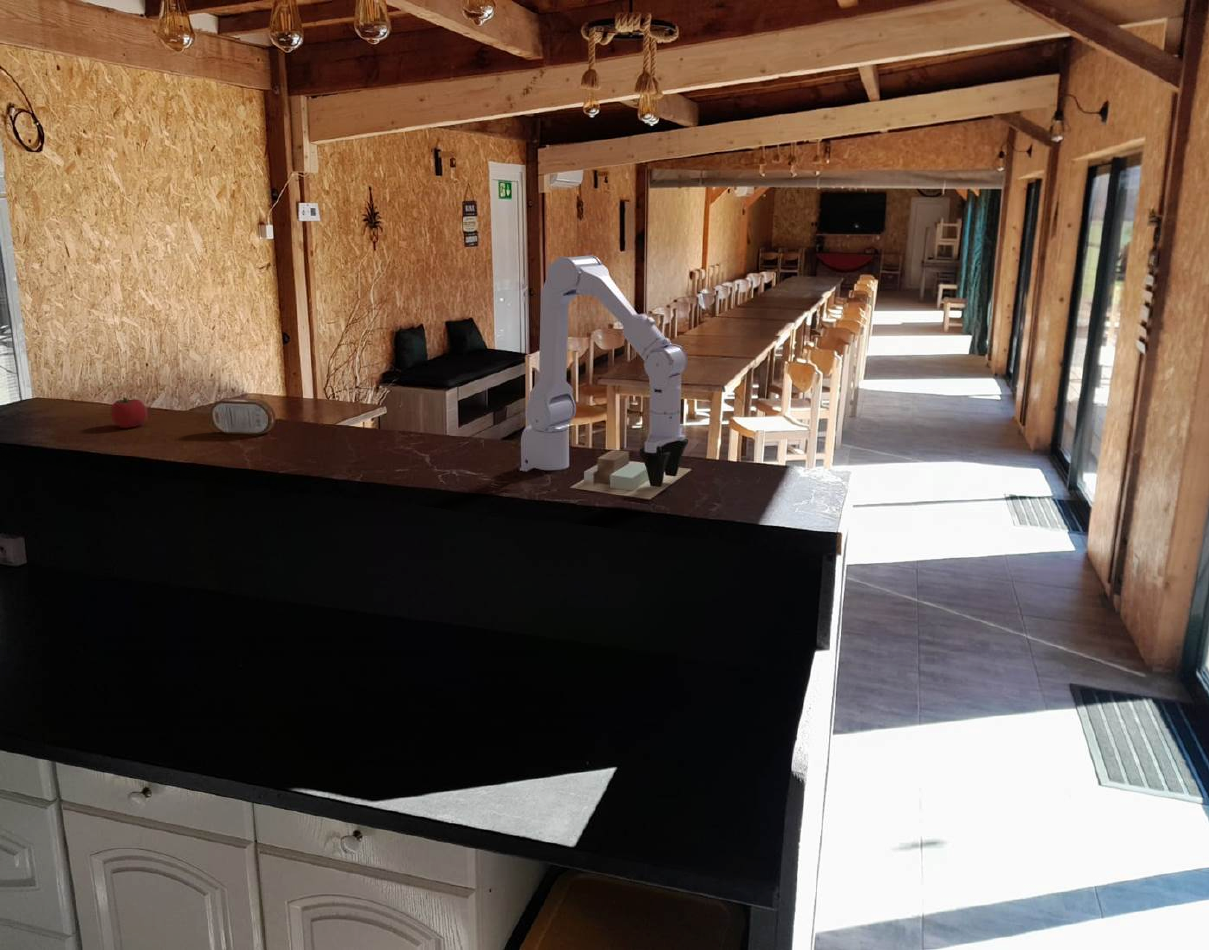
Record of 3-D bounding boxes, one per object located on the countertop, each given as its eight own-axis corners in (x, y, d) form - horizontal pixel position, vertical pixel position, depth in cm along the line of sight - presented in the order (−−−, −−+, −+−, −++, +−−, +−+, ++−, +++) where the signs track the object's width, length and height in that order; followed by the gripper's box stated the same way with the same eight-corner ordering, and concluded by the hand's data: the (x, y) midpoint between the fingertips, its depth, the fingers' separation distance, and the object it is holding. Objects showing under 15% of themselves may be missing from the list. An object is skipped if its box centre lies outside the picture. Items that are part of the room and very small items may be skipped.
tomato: (121, 432, 223) (117, 402, 221) (105, 426, 228) (101, 397, 226) (154, 426, 229) (150, 396, 227) (138, 421, 234) (134, 392, 232)
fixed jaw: (584, 484, 181) (584, 471, 180) (606, 471, 190) (606, 459, 189) (593, 485, 180) (593, 473, 180) (615, 472, 189) (615, 460, 188)
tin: (277, 433, 223) (274, 398, 221) (271, 436, 220) (268, 401, 218) (217, 431, 225) (213, 396, 222) (210, 434, 222) (206, 399, 219)
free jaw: (610, 487, 179) (610, 474, 178) (631, 474, 187) (631, 462, 187) (632, 490, 177) (632, 477, 176) (652, 477, 186) (652, 464, 185)
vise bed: (570, 492, 179) (570, 487, 179) (617, 464, 198) (618, 459, 198) (649, 504, 173) (649, 499, 172) (691, 473, 192) (691, 469, 191)
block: (597, 483, 182) (597, 458, 180) (612, 473, 188) (612, 449, 186) (613, 485, 180) (614, 460, 179) (628, 476, 186) (629, 451, 185)
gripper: (670, 421, 167) (669, 493, 171) (698, 405, 180) (696, 473, 184) (634, 417, 170) (633, 488, 174) (664, 402, 183) (662, 469, 187)
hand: (663, 480), depth 179 cm, fingers open, 7 cm apart
